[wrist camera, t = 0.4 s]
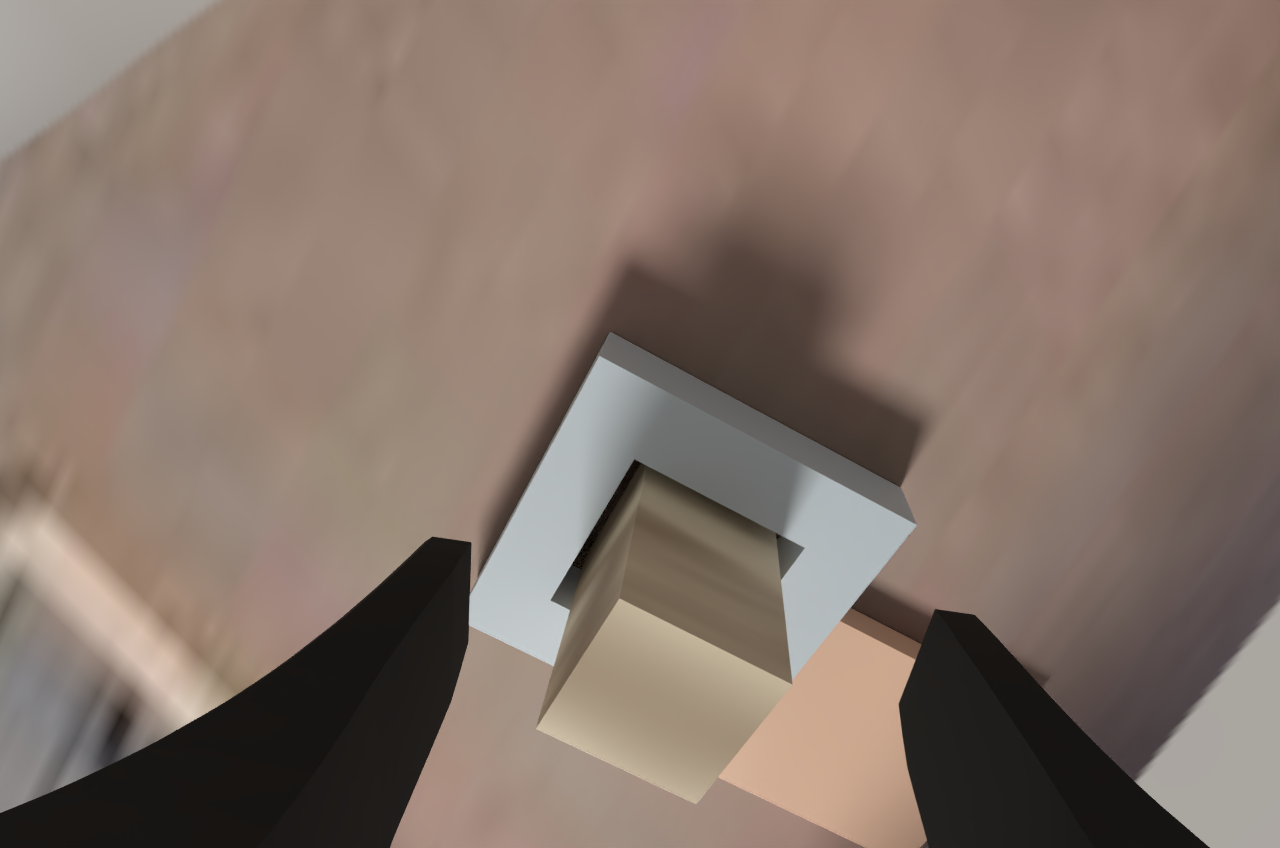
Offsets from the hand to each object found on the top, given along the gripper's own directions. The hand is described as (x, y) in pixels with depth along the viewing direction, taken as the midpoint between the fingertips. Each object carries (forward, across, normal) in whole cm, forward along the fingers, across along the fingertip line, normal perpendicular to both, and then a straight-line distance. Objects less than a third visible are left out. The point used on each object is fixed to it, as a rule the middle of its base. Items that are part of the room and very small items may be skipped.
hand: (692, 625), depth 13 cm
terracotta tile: (+9, -7, +11) cm, 16 cm away
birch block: (+10, 0, +5) cm, 11 cm away
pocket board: (+10, 0, +5) cm, 11 cm away
